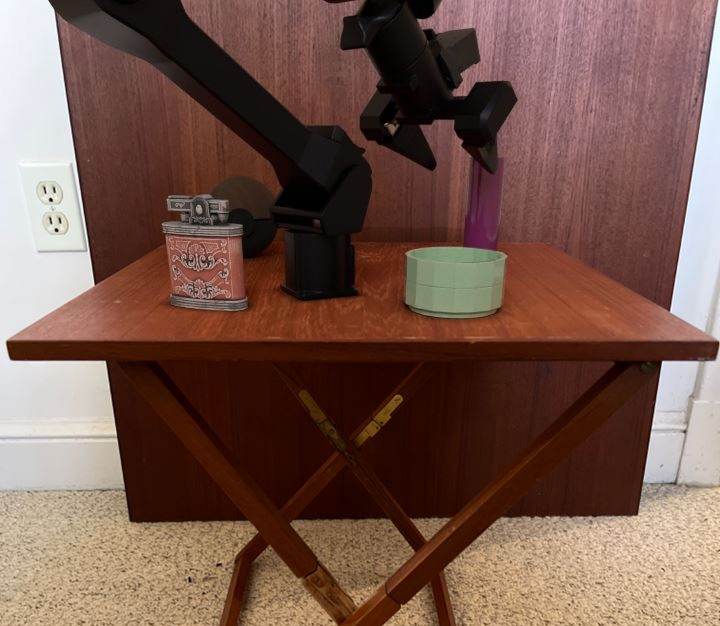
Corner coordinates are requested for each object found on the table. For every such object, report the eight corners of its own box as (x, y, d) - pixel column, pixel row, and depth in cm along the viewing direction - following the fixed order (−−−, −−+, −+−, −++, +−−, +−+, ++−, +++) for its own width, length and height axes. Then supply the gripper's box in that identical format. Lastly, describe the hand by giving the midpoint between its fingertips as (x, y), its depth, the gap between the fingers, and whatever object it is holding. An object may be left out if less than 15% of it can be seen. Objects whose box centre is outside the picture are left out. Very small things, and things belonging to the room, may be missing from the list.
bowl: (436, 323, 62) (440, 266, 60) (387, 302, 70) (388, 250, 67) (522, 313, 66) (528, 258, 64) (465, 294, 73) (469, 244, 71)
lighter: (254, 304, 69) (247, 194, 64) (238, 312, 66) (229, 197, 61) (182, 298, 71) (171, 192, 66) (164, 305, 68) (150, 194, 64)
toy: (205, 263, 89) (197, 178, 85) (213, 251, 98) (206, 173, 93) (279, 262, 90) (275, 178, 85) (281, 250, 99) (277, 173, 94)
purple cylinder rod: (474, 266, 88) (483, 157, 82) (455, 261, 91) (462, 156, 86) (503, 264, 90) (513, 156, 84) (483, 259, 93) (491, 155, 88)
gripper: (516, -18, 66) (565, 115, 78) (378, 4, 78) (438, 116, 90) (457, 74, 65) (515, 195, 76) (325, 82, 77) (393, 185, 89)
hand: (463, 169), depth 83 cm, fingers open, 9 cm apart
